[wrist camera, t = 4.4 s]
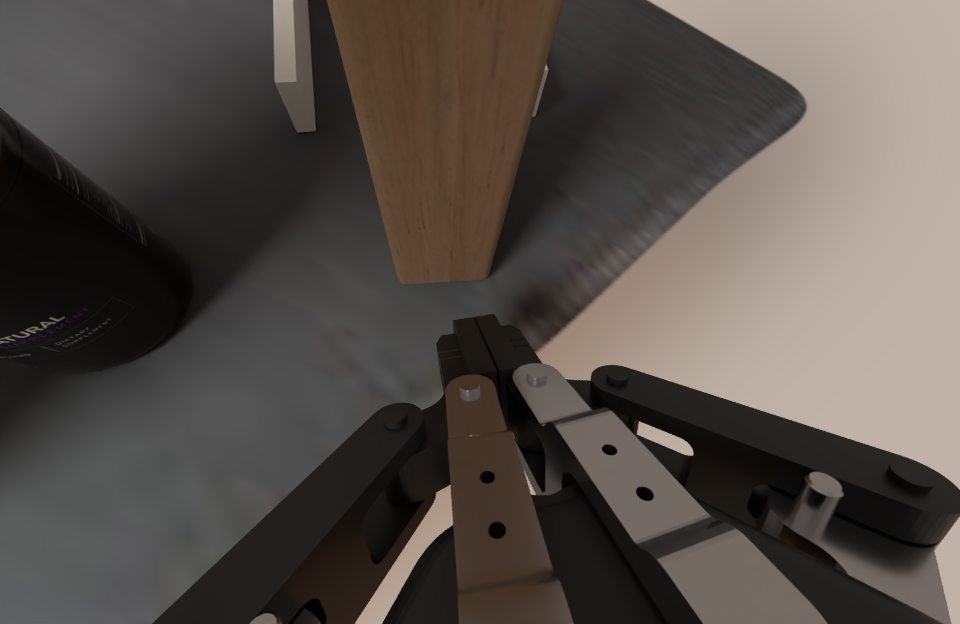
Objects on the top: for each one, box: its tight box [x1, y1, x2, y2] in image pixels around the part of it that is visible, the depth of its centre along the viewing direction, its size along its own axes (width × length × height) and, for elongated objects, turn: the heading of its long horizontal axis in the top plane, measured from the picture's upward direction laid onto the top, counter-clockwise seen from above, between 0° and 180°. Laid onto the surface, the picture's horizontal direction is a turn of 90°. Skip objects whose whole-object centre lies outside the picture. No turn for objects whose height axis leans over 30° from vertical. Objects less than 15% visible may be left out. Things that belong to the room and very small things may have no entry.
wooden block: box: [327, 0, 564, 285], centre depth 11 cm, size 9×4×18 cm, turn 6°
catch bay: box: [273, 0, 548, 132], centre depth 23 cm, size 14×14×3 cm
